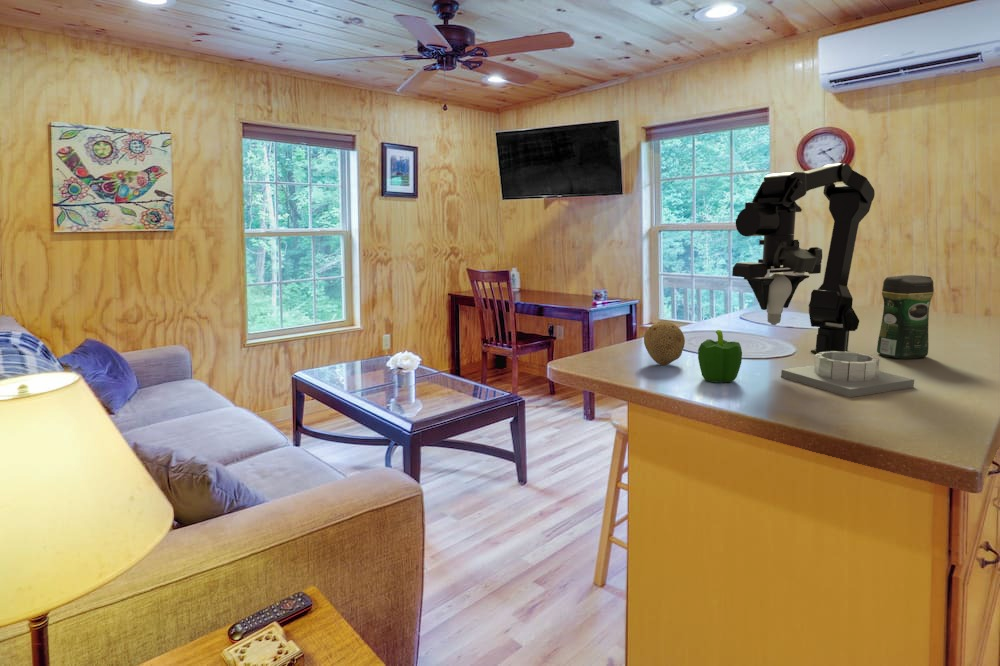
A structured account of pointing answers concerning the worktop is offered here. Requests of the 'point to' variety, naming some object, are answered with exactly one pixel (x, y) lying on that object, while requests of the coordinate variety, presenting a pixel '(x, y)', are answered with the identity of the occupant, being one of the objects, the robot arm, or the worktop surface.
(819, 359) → the socket collar
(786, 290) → the lightbulb
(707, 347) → the bell pepper
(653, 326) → the natural sponge
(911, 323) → the coffee jar
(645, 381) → the worktop surface
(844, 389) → the socket plate
